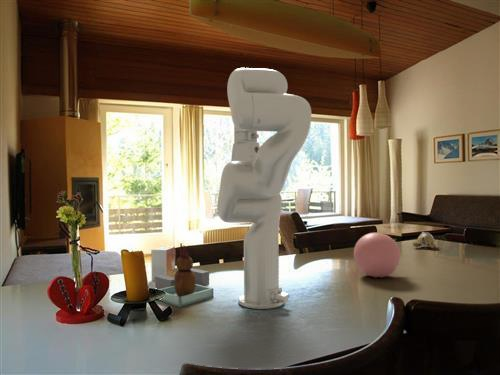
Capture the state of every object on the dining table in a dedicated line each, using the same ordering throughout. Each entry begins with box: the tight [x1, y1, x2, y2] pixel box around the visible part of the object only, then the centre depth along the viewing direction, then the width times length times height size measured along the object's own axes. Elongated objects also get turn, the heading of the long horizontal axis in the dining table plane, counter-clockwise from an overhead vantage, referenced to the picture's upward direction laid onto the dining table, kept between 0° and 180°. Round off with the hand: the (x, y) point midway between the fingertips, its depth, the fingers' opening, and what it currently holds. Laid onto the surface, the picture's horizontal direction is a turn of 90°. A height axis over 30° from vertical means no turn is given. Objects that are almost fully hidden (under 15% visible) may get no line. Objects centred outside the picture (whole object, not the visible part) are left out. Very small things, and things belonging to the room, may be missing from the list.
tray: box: [159, 284, 214, 308], centre depth 114 cm, size 11×12×2 cm
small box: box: [150, 246, 176, 281], centre depth 138 cm, size 8×6×10 cm
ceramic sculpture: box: [412, 230, 437, 249], centre depth 199 cm, size 11×9×15 cm
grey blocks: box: [154, 267, 210, 289], centre depth 127 cm, size 8×15×4 cm, turn 139°
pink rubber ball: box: [353, 232, 401, 278], centre depth 139 cm, size 15×20×15 cm
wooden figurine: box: [174, 242, 195, 297], centre depth 113 cm, size 7×6×15 cm
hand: (245, 190), depth 131 cm, fingers open, 9 cm apart
